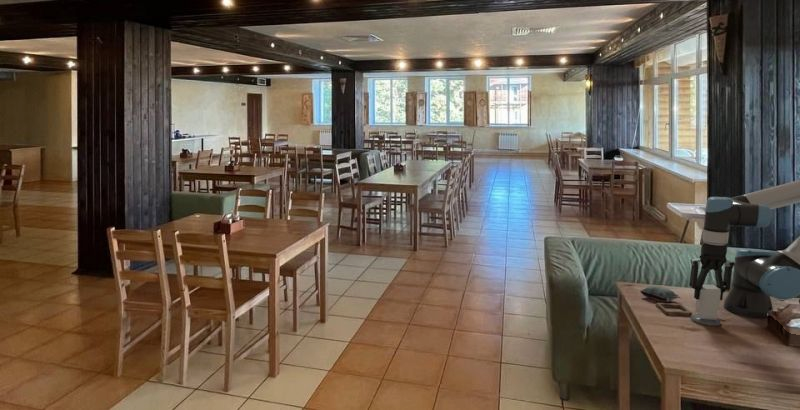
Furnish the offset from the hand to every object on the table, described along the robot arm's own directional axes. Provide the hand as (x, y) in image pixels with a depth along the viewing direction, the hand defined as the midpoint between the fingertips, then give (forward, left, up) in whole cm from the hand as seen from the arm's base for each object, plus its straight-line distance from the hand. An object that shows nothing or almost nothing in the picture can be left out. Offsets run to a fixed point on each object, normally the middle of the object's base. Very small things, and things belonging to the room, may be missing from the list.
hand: (706, 308), depth 184 cm
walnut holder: (+7, -9, -5) cm, 12 cm away
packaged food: (+7, -22, -5) cm, 23 cm away
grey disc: (0, 0, -5) cm, 5 cm away
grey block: (0, 0, -2) cm, 2 cm away
